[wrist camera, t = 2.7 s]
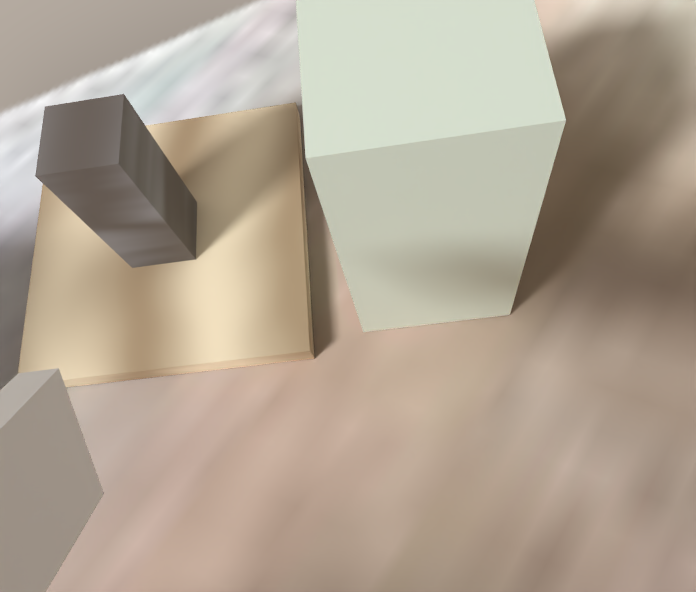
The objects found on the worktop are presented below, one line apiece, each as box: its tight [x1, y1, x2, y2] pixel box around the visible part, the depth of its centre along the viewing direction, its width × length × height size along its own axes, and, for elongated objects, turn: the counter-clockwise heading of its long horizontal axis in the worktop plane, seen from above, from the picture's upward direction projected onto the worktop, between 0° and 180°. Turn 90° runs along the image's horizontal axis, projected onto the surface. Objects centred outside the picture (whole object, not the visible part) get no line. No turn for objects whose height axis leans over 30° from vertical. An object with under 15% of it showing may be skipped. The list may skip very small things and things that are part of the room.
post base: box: [18, 94, 314, 387], centre depth 24 cm, size 12×12×8 cm
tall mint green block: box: [296, 0, 566, 332], centre depth 21 cm, size 6×6×12 cm
